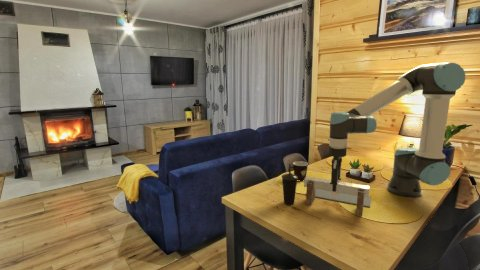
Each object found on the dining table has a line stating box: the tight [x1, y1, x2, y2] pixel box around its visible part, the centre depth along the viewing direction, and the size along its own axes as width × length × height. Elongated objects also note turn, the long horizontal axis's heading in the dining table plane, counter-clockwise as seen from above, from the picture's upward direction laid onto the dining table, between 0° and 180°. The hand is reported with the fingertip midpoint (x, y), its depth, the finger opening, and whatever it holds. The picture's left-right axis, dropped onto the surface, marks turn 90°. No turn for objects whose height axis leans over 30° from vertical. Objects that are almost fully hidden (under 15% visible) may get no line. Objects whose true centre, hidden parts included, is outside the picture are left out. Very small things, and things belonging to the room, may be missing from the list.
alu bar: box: [303, 175, 370, 198], centre depth 120 cm, size 28×4×4 cm, turn 62°
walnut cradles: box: [305, 182, 364, 217], centre depth 121 cm, size 24×8×11 cm, turn 62°
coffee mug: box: [288, 160, 309, 182], centre depth 155 cm, size 12×9×10 cm
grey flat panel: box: [315, 189, 372, 208], centre depth 133 cm, size 30×12×1 cm, turn 62°
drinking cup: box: [281, 163, 298, 206], centre depth 124 cm, size 8×8×20 cm
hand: (334, 195), depth 121 cm, fingers closed on alu bar, 4 cm apart
